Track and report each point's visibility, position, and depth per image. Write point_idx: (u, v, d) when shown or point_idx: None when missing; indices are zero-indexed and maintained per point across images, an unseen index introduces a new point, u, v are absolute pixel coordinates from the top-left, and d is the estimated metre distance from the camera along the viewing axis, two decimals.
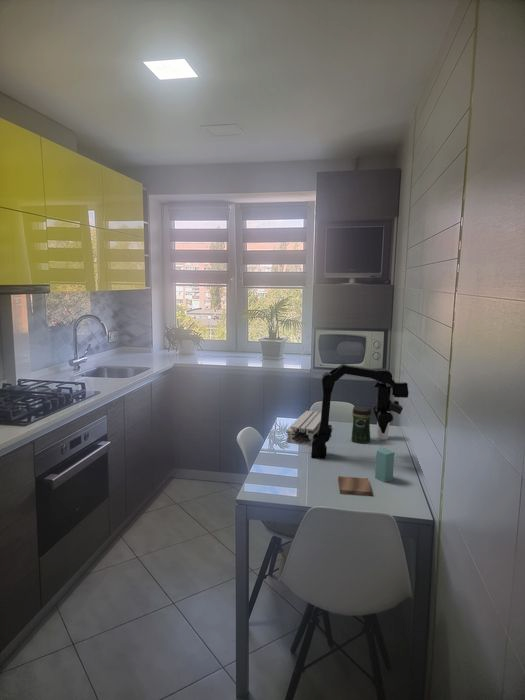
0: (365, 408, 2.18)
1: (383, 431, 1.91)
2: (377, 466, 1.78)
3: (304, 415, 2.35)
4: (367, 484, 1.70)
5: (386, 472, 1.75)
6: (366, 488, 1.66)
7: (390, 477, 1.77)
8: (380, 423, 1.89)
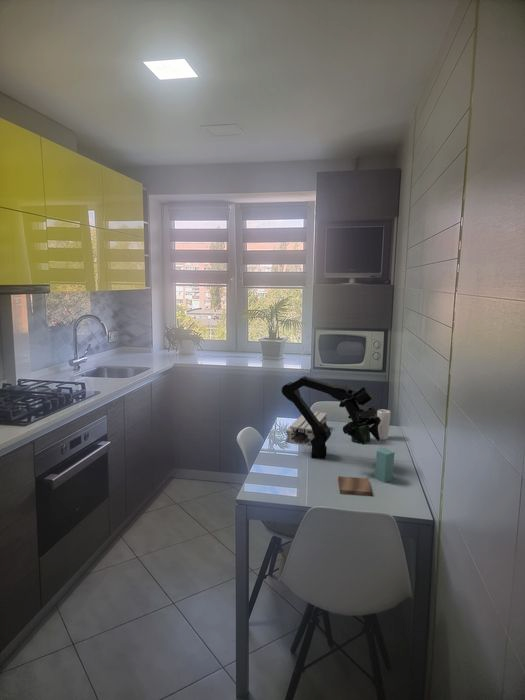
0: (365, 408, 2.18)
1: (361, 442, 1.81)
2: (377, 466, 1.78)
3: None
4: (367, 484, 1.70)
5: (386, 472, 1.75)
6: (366, 488, 1.66)
7: (390, 477, 1.77)
8: (353, 436, 1.83)
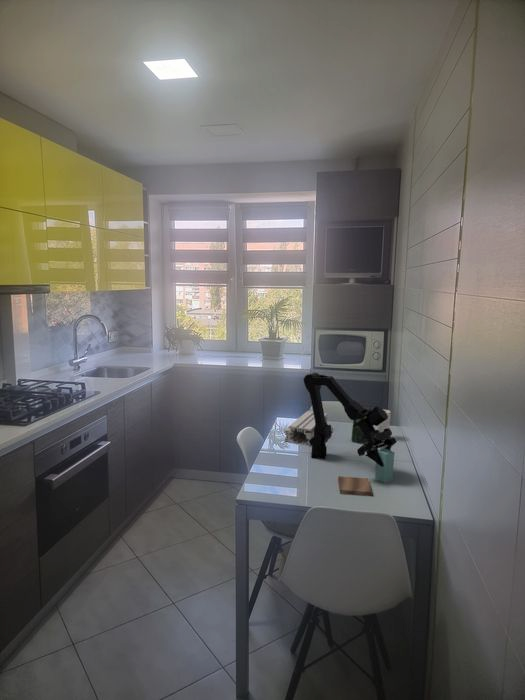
0: (365, 408, 2.18)
1: (380, 464, 1.75)
2: (377, 466, 1.78)
3: (304, 415, 2.35)
4: (367, 484, 1.70)
5: (386, 472, 1.75)
6: (366, 488, 1.66)
7: (390, 477, 1.77)
8: (371, 457, 1.78)
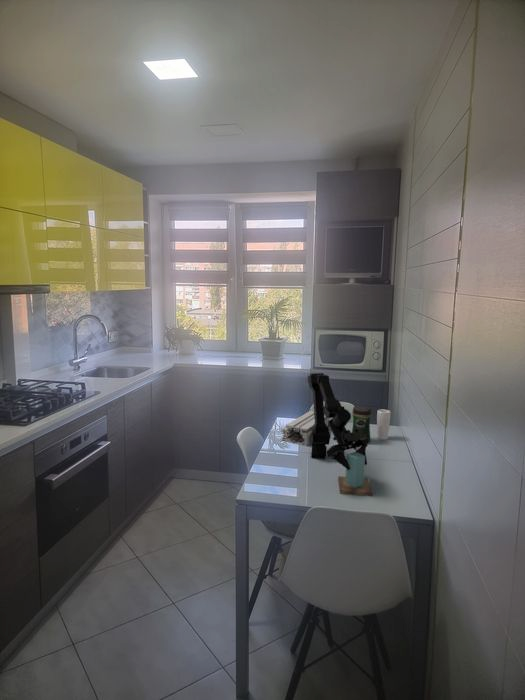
0: (365, 408, 2.18)
1: (347, 467, 1.65)
2: (347, 470, 1.69)
3: (305, 415, 2.35)
4: (367, 484, 1.70)
5: (356, 477, 1.66)
6: (366, 488, 1.66)
7: (360, 482, 1.68)
8: (338, 460, 1.68)
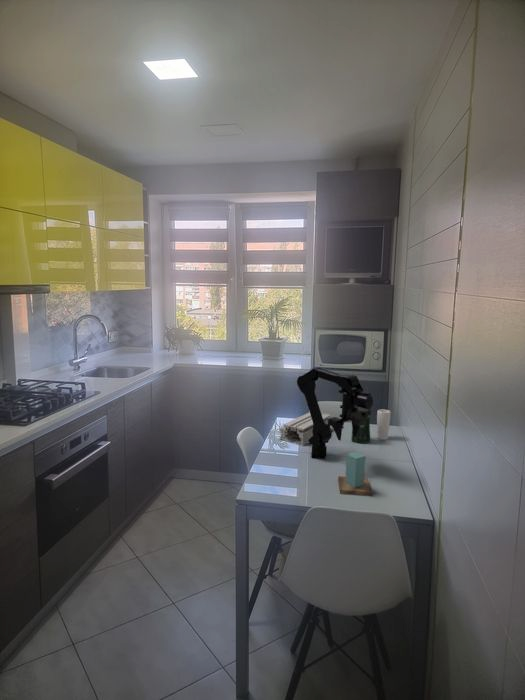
0: None
1: (338, 438, 1.85)
2: (347, 470, 1.69)
3: (306, 415, 2.35)
4: (367, 484, 1.70)
5: (356, 477, 1.66)
6: (366, 488, 1.66)
7: (360, 482, 1.68)
8: (334, 428, 1.85)
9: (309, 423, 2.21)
